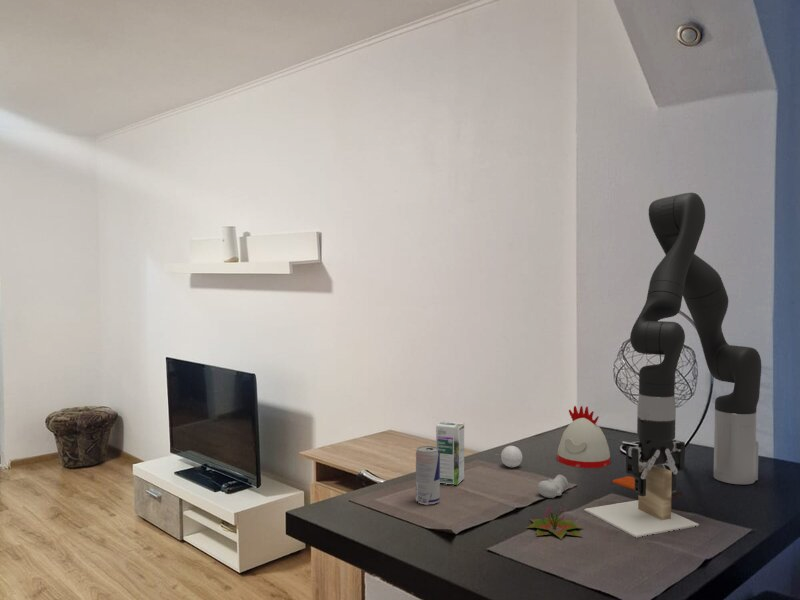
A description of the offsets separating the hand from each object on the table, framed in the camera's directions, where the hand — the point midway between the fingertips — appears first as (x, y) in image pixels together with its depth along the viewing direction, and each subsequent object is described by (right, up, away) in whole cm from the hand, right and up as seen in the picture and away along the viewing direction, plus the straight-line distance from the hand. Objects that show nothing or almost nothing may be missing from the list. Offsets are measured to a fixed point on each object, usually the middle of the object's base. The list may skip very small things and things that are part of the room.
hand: (655, 492), depth 142 cm
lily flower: (-23, -6, -7) cm, 25 cm away
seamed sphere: (-25, -4, +36) cm, 44 cm away
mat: (-4, -5, -1) cm, 6 cm away
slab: (0, -4, 0) cm, 4 cm away
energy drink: (-48, -5, +9) cm, 49 cm away
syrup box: (-42, -4, +23) cm, 48 cm away
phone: (+5, -5, +18) cm, 19 cm away
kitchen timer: (-4, -3, +42) cm, 42 cm away
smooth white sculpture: (-18, -5, +14) cm, 23 cm away
